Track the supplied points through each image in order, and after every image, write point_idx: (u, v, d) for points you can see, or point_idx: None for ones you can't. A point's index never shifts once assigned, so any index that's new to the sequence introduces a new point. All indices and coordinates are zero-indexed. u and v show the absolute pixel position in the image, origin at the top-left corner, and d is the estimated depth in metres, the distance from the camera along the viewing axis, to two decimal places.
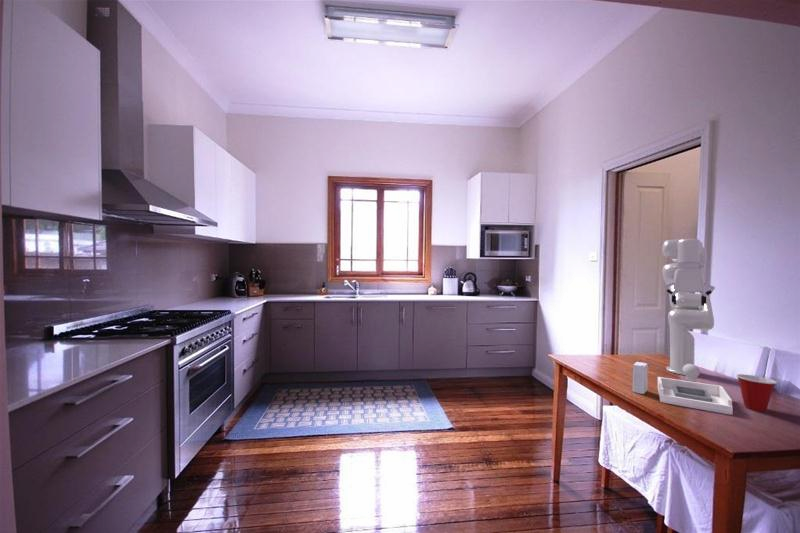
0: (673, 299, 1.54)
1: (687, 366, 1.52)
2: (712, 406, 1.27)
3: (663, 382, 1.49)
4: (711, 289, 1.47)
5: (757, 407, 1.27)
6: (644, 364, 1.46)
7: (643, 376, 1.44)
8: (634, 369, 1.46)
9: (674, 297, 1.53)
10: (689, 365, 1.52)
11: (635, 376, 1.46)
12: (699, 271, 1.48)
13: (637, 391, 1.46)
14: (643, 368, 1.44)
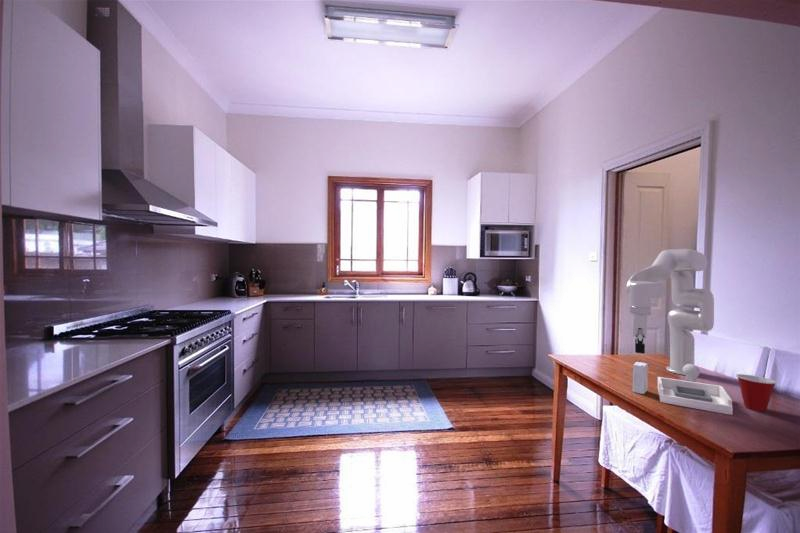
0: (642, 348, 1.42)
1: (687, 366, 1.52)
2: (712, 406, 1.27)
3: (663, 382, 1.49)
4: None
5: (757, 407, 1.27)
6: (644, 364, 1.46)
7: (643, 376, 1.44)
8: (634, 369, 1.46)
9: (644, 345, 1.42)
10: (689, 365, 1.52)
11: (635, 376, 1.46)
12: None
13: (637, 391, 1.46)
14: (643, 368, 1.44)
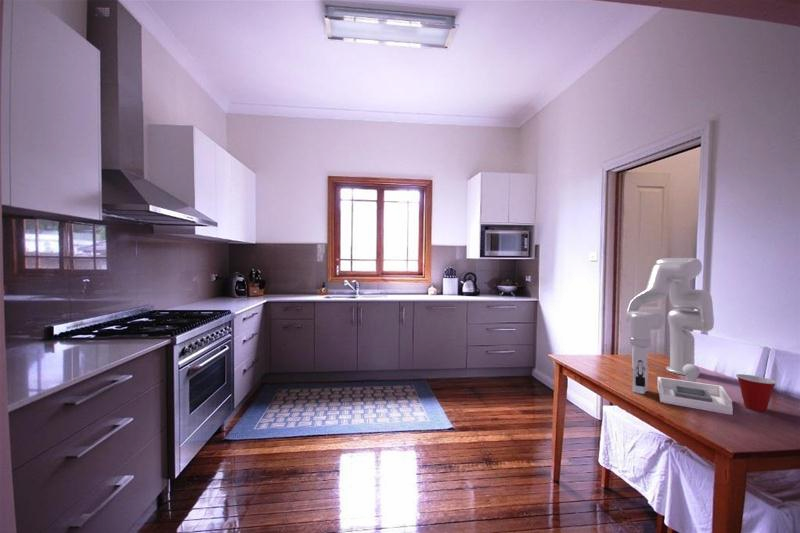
0: None
1: (687, 366, 1.52)
2: (712, 406, 1.27)
3: (663, 382, 1.49)
4: None
5: (757, 407, 1.27)
6: None
7: None
8: (634, 369, 1.46)
9: None
10: (689, 365, 1.52)
11: (635, 376, 1.46)
12: None
13: (637, 391, 1.46)
14: None
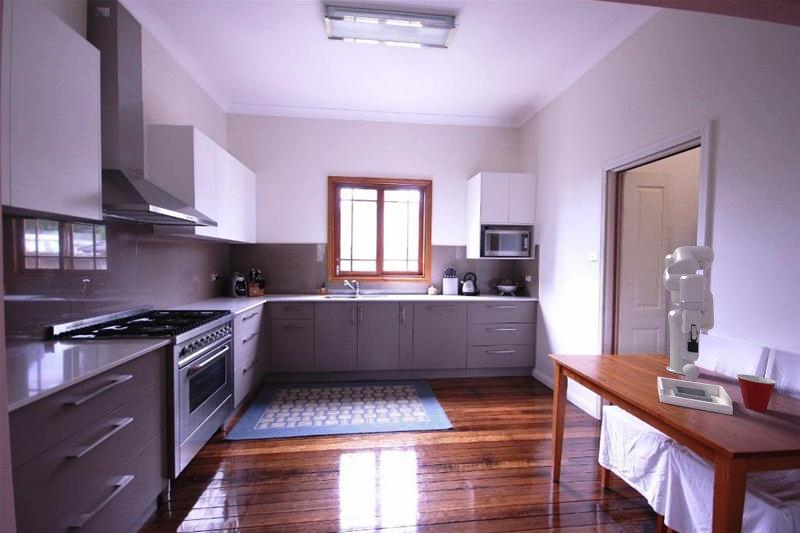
0: None
1: (687, 366, 1.52)
2: (712, 406, 1.27)
3: (663, 382, 1.49)
4: None
5: (757, 407, 1.27)
6: None
7: None
8: None
9: None
10: (689, 365, 1.52)
11: (687, 342, 1.36)
12: None
13: (689, 358, 1.36)
14: None
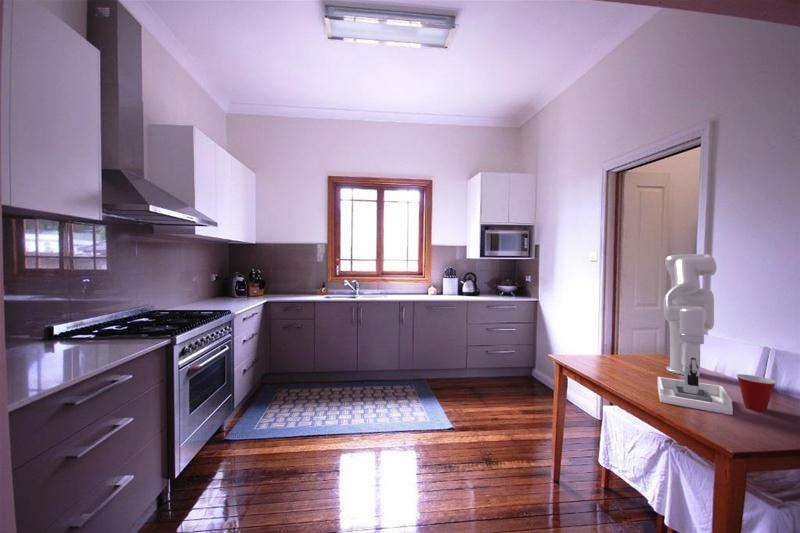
0: None
1: None
2: (712, 406, 1.27)
3: (663, 382, 1.49)
4: None
5: (757, 407, 1.27)
6: None
7: None
8: None
9: None
10: None
11: (687, 375, 1.36)
12: None
13: (689, 391, 1.36)
14: None
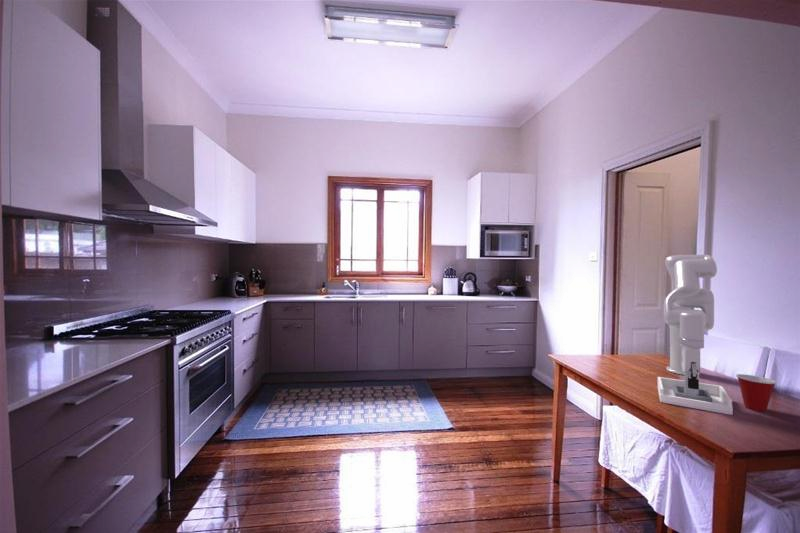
0: (695, 383, 1.33)
1: None
2: (712, 406, 1.27)
3: (663, 382, 1.49)
4: None
5: (757, 407, 1.27)
6: None
7: None
8: (686, 374, 1.36)
9: (698, 381, 1.33)
10: None
11: (687, 381, 1.36)
12: None
13: None
14: None
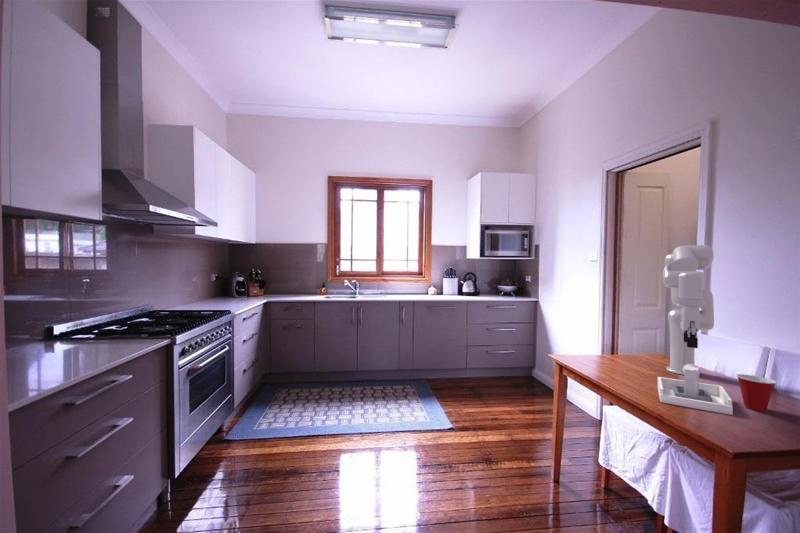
0: (694, 342, 1.33)
1: None
2: (712, 406, 1.27)
3: (663, 382, 1.49)
4: None
5: (757, 407, 1.27)
6: (696, 368, 1.37)
7: (696, 381, 1.34)
8: (686, 374, 1.36)
9: (697, 340, 1.33)
10: (689, 365, 1.52)
11: (687, 381, 1.36)
12: None
13: None
14: (696, 373, 1.34)
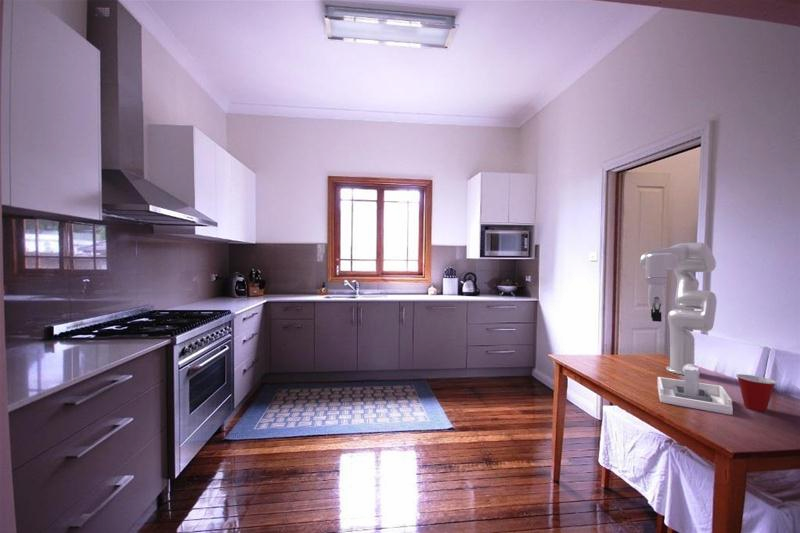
0: (658, 316, 1.47)
1: None
2: (712, 406, 1.27)
3: (663, 382, 1.49)
4: None
5: (757, 407, 1.27)
6: (696, 368, 1.37)
7: (696, 381, 1.34)
8: (686, 374, 1.36)
9: None
10: (689, 365, 1.52)
11: (687, 381, 1.36)
12: None
13: None
14: (696, 373, 1.34)
